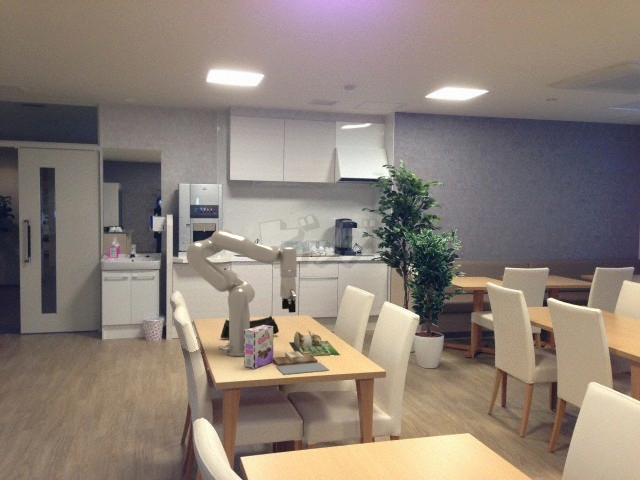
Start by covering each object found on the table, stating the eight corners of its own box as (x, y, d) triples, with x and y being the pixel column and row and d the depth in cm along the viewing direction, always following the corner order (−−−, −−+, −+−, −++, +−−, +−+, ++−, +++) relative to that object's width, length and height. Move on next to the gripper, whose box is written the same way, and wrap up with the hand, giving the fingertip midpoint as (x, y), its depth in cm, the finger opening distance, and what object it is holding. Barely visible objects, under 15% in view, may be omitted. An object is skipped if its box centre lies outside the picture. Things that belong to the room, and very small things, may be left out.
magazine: (216, 323, 290) (271, 304, 298) (215, 322, 293) (269, 303, 301) (226, 354, 292) (280, 334, 301) (225, 352, 295) (278, 333, 304)
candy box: (254, 369, 239) (254, 331, 238) (243, 367, 242) (243, 329, 241) (273, 362, 250) (274, 325, 249) (263, 360, 253) (263, 324, 252)
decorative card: (287, 327, 291) (325, 325, 295) (287, 341, 292) (325, 340, 296) (297, 341, 259) (340, 340, 263) (297, 358, 260) (340, 356, 264)
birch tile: (290, 361, 246) (290, 357, 245) (285, 356, 254) (285, 352, 254) (303, 360, 248) (304, 356, 248) (297, 355, 256) (297, 351, 256)
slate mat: (283, 374, 231) (283, 374, 231) (275, 367, 242) (275, 366, 242) (329, 370, 238) (329, 369, 238) (319, 363, 249) (319, 362, 249)
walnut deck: (278, 367, 243) (278, 363, 243) (272, 361, 252) (272, 357, 252) (317, 363, 249) (317, 360, 249) (310, 357, 258) (310, 354, 258)
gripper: (275, 272, 266) (275, 308, 267) (286, 276, 250) (286, 314, 251) (290, 271, 269) (290, 307, 270) (302, 275, 253) (302, 313, 254)
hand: (288, 310), depth 260 cm, fingers open, 9 cm apart
